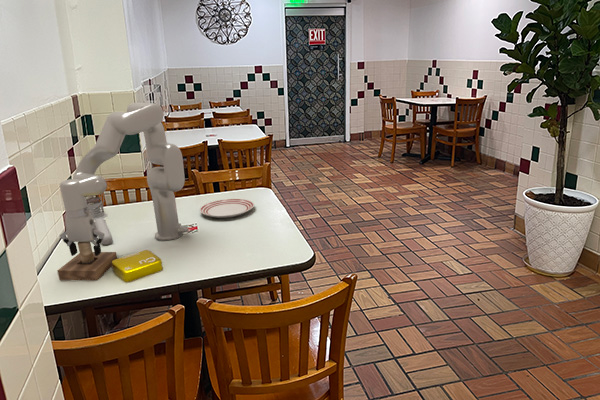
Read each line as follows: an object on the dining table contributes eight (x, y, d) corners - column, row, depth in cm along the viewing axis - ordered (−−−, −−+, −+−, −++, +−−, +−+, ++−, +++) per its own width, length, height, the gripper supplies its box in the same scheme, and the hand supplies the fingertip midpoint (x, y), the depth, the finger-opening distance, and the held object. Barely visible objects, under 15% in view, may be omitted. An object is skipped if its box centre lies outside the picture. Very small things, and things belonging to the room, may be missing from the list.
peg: (98, 267, 183) (92, 239, 179) (92, 272, 179) (86, 244, 175) (87, 267, 184) (81, 239, 180) (81, 272, 179) (74, 244, 176)
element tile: (149, 258, 190) (147, 247, 188) (164, 270, 179) (162, 259, 177) (112, 270, 181) (109, 259, 179) (125, 284, 170) (123, 272, 168)
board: (117, 261, 188) (116, 251, 187) (97, 280, 173) (95, 270, 172) (83, 260, 190) (81, 252, 188) (59, 280, 175) (57, 270, 173)
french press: (82, 219, 237) (71, 172, 229) (98, 212, 247) (88, 166, 239) (97, 221, 233) (88, 173, 225) (113, 213, 244) (104, 166, 236)
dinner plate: (206, 204, 251) (206, 198, 250) (257, 202, 249) (257, 196, 248) (194, 223, 225) (193, 216, 224) (250, 221, 223) (250, 214, 222)
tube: (114, 235, 204) (107, 218, 225) (101, 235, 201) (95, 217, 222) (112, 247, 205) (105, 229, 226) (99, 246, 202) (93, 228, 223)
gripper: (104, 208, 176) (112, 250, 182) (61, 209, 178) (70, 250, 184) (93, 215, 169) (102, 258, 175) (49, 216, 171) (59, 258, 177)
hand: (86, 254), depth 179 cm, fingers open, 9 cm apart
